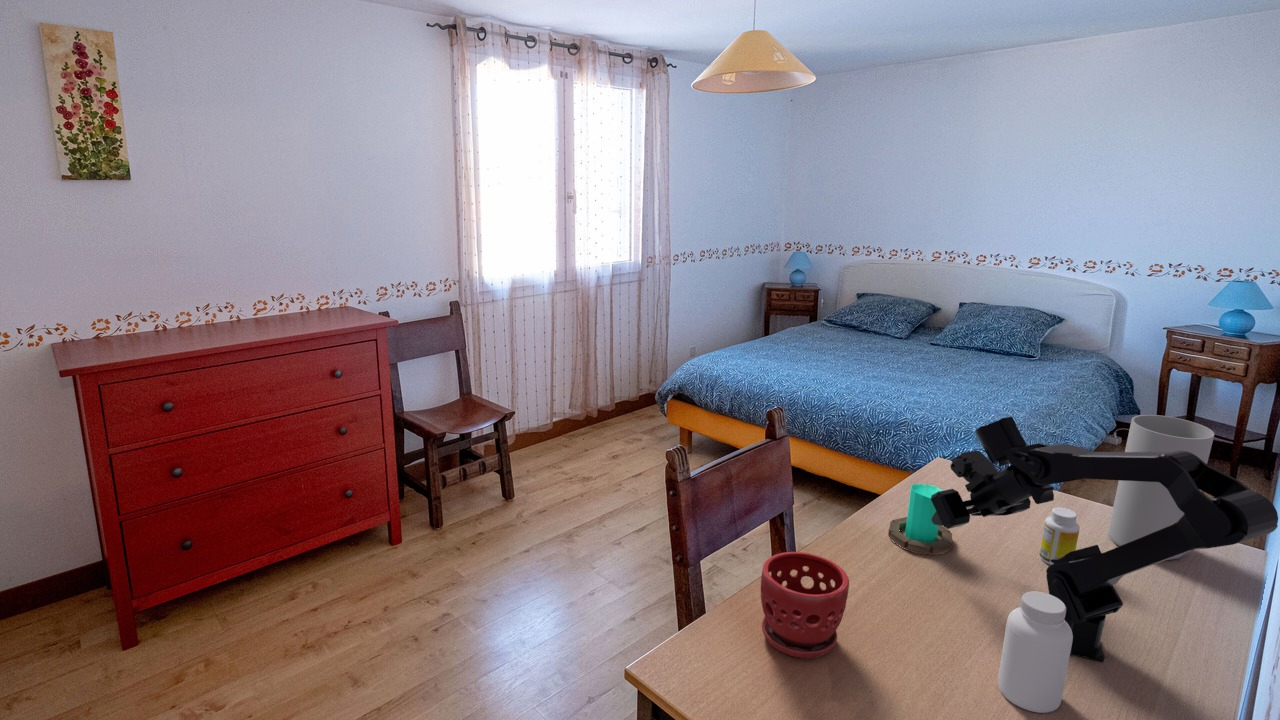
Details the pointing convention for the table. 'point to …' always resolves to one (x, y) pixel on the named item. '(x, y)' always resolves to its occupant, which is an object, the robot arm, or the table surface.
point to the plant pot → (802, 604)
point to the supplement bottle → (1059, 534)
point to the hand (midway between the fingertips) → (952, 517)
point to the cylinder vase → (1151, 502)
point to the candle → (921, 514)
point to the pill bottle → (1036, 653)
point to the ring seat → (919, 547)
